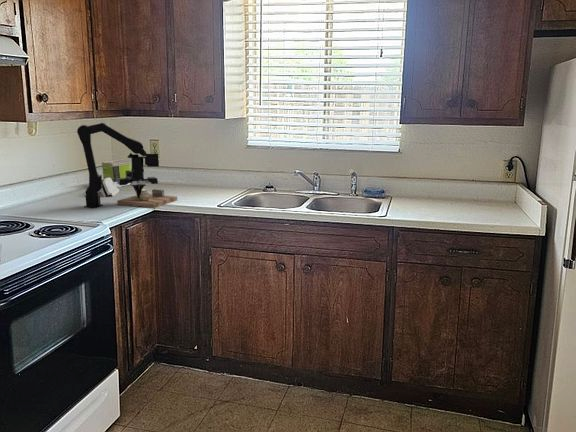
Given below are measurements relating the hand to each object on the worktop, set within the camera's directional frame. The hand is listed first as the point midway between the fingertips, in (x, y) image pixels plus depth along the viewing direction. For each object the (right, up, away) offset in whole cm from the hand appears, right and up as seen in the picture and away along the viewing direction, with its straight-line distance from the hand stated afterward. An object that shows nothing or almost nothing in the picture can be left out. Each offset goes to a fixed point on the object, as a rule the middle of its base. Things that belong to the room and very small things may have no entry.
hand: (138, 198), depth 270 cm
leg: (+2, 0, +4) cm, 4 cm away
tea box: (-26, +9, +52) cm, 59 cm away
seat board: (+4, -2, +4) cm, 6 cm away
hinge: (-23, +3, +27) cm, 36 cm away
